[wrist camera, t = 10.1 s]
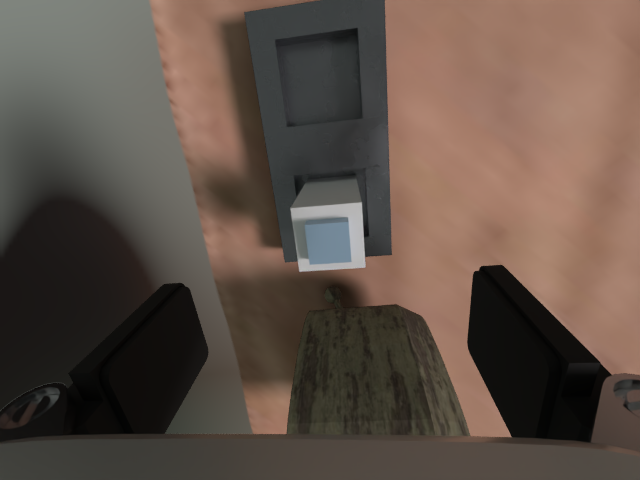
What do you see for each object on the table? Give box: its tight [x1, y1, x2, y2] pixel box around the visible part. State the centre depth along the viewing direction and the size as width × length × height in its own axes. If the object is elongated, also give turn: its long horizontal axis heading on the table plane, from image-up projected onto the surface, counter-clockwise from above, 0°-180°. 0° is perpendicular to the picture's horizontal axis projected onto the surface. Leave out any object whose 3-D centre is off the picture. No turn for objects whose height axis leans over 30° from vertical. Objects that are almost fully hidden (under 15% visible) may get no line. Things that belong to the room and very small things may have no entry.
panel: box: [244, 0, 392, 262], centre depth 24 cm, size 18×9×3 cm, turn 6°
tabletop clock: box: [287, 286, 470, 436], centre depth 21 cm, size 14×9×25 cm, turn 8°
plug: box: [290, 175, 366, 272], centre depth 22 cm, size 4×4×10 cm
